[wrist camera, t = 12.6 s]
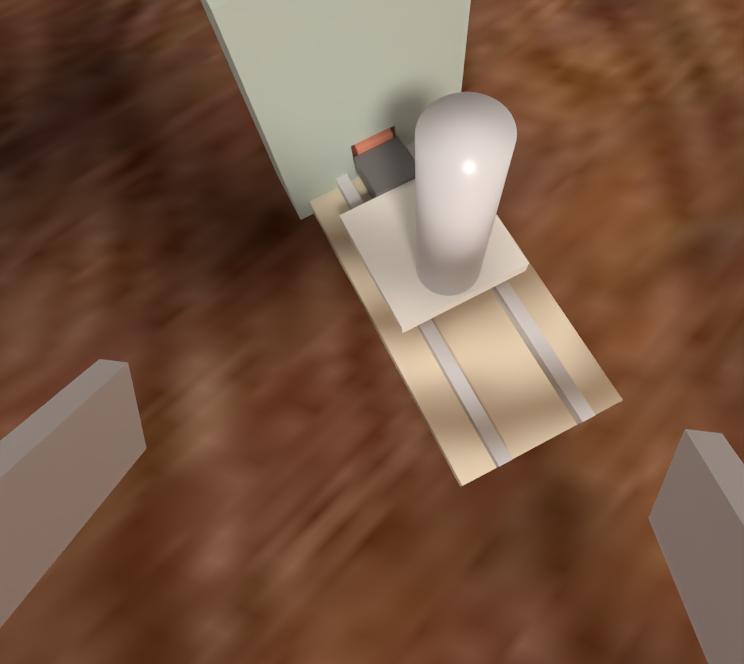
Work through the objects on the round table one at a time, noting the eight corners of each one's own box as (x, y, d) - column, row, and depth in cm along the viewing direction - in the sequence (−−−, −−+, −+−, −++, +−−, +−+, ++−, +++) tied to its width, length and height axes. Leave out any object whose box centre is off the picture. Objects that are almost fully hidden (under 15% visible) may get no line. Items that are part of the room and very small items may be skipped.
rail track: (313, 213, 35) (306, 193, 33) (442, 150, 36) (444, 126, 33) (460, 486, 29) (463, 485, 27) (612, 404, 30) (629, 396, 27)
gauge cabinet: (274, 171, 37) (160, -90, 20) (424, 99, 37) (429, -207, 21) (303, 225, 35) (204, -10, 19) (459, 150, 36) (492, -139, 20)
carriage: (322, 189, 33) (267, 15, 21) (433, 136, 33) (441, -64, 21) (402, 334, 29) (391, 225, 18) (524, 272, 30) (594, 125, 18)
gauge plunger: (335, 129, 35) (329, 103, 32) (367, 114, 35) (363, 87, 33) (361, 173, 33) (357, 150, 31) (394, 158, 34) (392, 133, 31)
